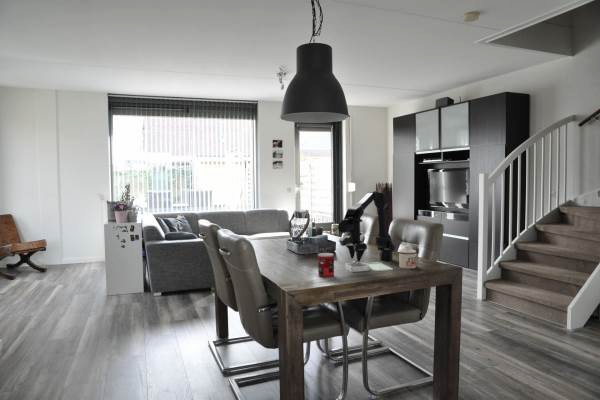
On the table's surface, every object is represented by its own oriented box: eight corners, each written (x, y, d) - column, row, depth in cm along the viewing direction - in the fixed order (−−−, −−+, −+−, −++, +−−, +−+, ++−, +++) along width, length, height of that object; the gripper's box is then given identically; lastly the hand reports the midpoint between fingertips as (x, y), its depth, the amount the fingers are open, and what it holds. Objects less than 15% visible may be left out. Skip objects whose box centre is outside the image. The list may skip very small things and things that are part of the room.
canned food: (317, 274, 221) (316, 253, 220) (332, 273, 221) (332, 252, 221) (319, 277, 213) (318, 255, 212) (335, 277, 214) (334, 255, 213)
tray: (378, 264, 241) (378, 262, 241) (393, 271, 224) (393, 268, 224) (362, 265, 239) (362, 263, 239) (375, 272, 222) (375, 270, 222)
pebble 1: (357, 264, 232) (358, 258, 231) (359, 269, 229) (361, 263, 227) (350, 265, 232) (351, 259, 230) (352, 270, 228) (353, 264, 226)
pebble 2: (360, 268, 228) (360, 260, 227) (363, 270, 224) (363, 263, 223) (353, 268, 227) (353, 261, 226) (356, 271, 223) (356, 264, 223)
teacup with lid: (407, 270, 225) (407, 248, 224) (395, 267, 233) (395, 246, 232) (424, 267, 231) (423, 246, 230) (411, 264, 239) (411, 243, 238)
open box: (362, 267, 234) (362, 262, 234) (369, 271, 224) (369, 265, 224) (344, 269, 231) (344, 263, 231) (351, 273, 222) (351, 267, 221)
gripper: (334, 229, 236) (335, 257, 237) (346, 234, 218) (347, 264, 219) (353, 228, 239) (354, 256, 240) (367, 232, 221) (367, 263, 222)
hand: (355, 260), depth 230 cm, fingers open, 9 cm apart
